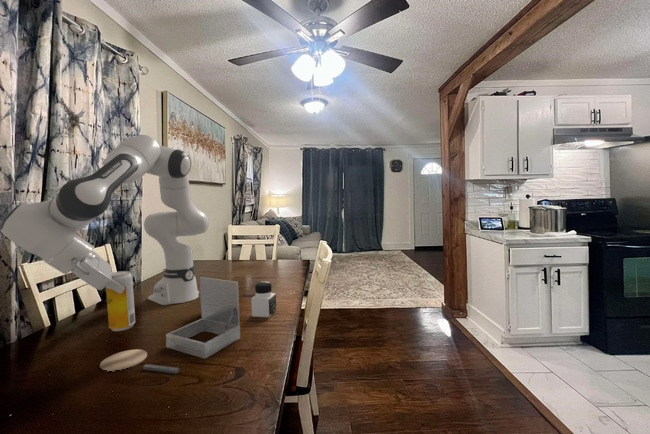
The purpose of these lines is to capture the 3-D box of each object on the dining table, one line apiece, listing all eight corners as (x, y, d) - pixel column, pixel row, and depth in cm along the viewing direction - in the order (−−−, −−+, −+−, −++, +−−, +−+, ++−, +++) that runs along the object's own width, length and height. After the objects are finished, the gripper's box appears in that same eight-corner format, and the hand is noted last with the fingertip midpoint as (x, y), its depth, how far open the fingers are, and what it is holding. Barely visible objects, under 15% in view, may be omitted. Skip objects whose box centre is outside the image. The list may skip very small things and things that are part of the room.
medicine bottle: (269, 317, 115) (268, 285, 114) (251, 316, 116) (250, 285, 116) (276, 310, 122) (275, 280, 121) (259, 310, 123) (258, 280, 123)
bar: (143, 370, 82) (142, 366, 81) (146, 368, 83) (146, 364, 83) (176, 375, 79) (175, 370, 79) (179, 372, 80) (179, 368, 80)
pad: (90, 365, 84) (90, 364, 84) (131, 347, 94) (131, 346, 94) (115, 375, 79) (115, 373, 79) (155, 355, 89) (155, 354, 89)
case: (166, 347, 93) (163, 288, 92) (203, 329, 106) (201, 277, 105) (205, 358, 86) (202, 294, 85) (240, 338, 99) (238, 281, 98)
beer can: (117, 323, 89) (113, 271, 88) (139, 322, 89) (136, 270, 88) (104, 332, 83) (99, 276, 82) (128, 331, 83) (124, 275, 82)
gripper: (81, 252, 72) (133, 286, 78) (87, 242, 89) (129, 271, 95) (57, 274, 70) (113, 307, 76) (68, 260, 87) (112, 288, 93)
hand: (122, 287), depth 85 cm, fingers closed on beer can, 6 cm apart
